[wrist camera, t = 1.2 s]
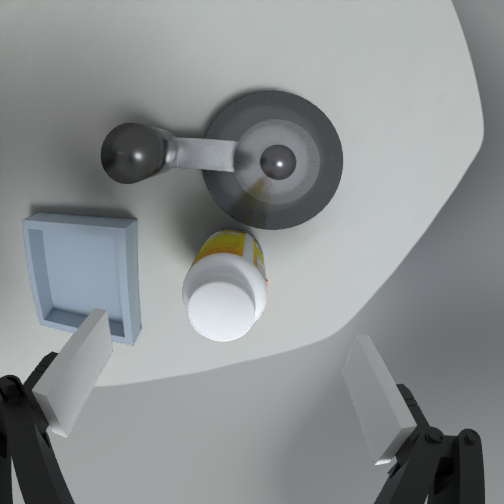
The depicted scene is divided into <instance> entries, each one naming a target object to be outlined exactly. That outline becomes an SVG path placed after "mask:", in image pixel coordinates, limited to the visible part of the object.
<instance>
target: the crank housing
mask: <svg viewBox="0 0 504 504" xmlns="http://www.w3.org/2000/svg"><path fill="white" fill-rule="evenodd" d="M271 119H281V120H287V121H290V122H293V123H295V124H297V125H299V126H300V127H302V128H303V129H304V130H306V131H307V132H308V133H309V135H310V136H311V137H312V138H313V140H314V142H315V144H316V146H317V149H318V152H319V157H320V167H319V172H318V176H317V178H316V180H315V182H314V184H313V186H312V187H311V188H310V189H309V191H308V192H307V193H305V194H304V195H303V196H302V197H300V198H299V199H297V200H295V201H292V202H289V203H285V204H269V203H265V202H262V201H259V200H257V199H255V198H254V197H252V196H251V195H249V194H248V193H247V192H246V191H245V190H244V189H243V188H242V186H241V185H240V183H239V181H238V179H237V177H236V174H235V172H229V171H218V170H206V169H202V170H203V175H204V179H205V182H206V185H207V187H208V190H209V191H210V193H211V195H212V197H213V198H214V200H215V201H216V202H217V204H218V205H219V206H220V207H221V208H222V209H223V210H224V211H225V212H226V213H227V214H229V215H230V216H231V217H233V218H234V219H236V220H238V221H239V222H242V223H244V224H246V225H249V226H252V227H255V228H260V229H268V230H278V229H286V228H290V227H294V226H297V225H300V224H302V223H304V222H306V221H308V220H310V219H311V218H313V217H314V216H316V215H317V214H318V213H319V212H320V211H322V210H323V209H324V207H325V206H326V205H327V204H328V203H329V202H330V200H331V199H332V197H333V196H334V194H335V192H336V190H337V188H338V185H339V182H340V179H341V175H342V169H343V152H342V147H341V142H340V139H339V136H338V134H337V132H336V130H335V128H334V126H333V124H332V123H331V121H330V120H329V119H328V117H327V116H326V115H325V114H324V113H323V112H322V111H321V110H320V109H319V108H318V107H317V106H315V105H314V104H312V103H311V102H309V101H308V100H306V99H304V98H302V97H299V96H297V95H294V94H291V93H286V92H280V91H263V92H258V93H253V94H250V95H247V96H244V97H242V98H240V99H238V100H236V101H235V102H233V103H232V104H230V105H229V106H228V107H226V108H225V109H224V110H223V111H222V112H221V113H220V114H219V115H218V116H217V118H216V119H215V120H214V122H213V123H212V125H211V126H210V128H209V131H208V133H207V135H206V138H205V139H213V140H225V141H236V142H238V141H239V140H240V138H241V137H242V135H243V134H244V133H245V132H246V131H247V130H248V129H249V128H251V127H252V126H254V125H256V124H258V123H260V122H263V121H266V120H271Z"/></svg>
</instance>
